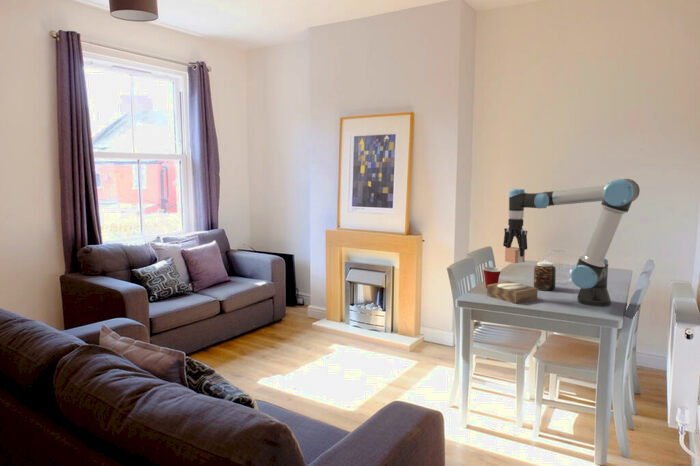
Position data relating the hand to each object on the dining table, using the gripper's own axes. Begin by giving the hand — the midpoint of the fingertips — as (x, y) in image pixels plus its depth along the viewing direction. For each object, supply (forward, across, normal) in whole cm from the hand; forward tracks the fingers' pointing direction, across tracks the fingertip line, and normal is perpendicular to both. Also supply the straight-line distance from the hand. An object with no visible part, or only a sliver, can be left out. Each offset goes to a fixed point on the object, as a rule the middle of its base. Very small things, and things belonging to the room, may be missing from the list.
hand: (514, 261), depth 261 cm
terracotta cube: (0, 0, 0) cm, 0 cm away
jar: (+20, +3, -28) cm, 35 cm away
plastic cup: (+20, +20, -4) cm, 29 cm away
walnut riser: (+20, 0, +2) cm, 20 cm away
